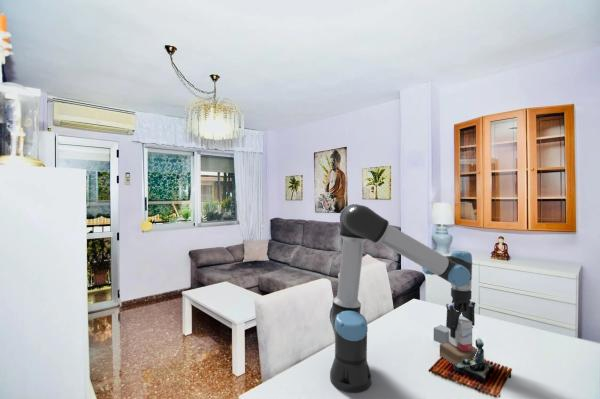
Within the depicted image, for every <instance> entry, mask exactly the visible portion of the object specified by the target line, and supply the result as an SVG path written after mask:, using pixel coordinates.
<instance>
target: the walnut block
mask: <svg viewBox="0 0 600 399" xmlns="http://www.w3.org/2000/svg"><path fill="white" fill-rule="evenodd" d="M477 350H479V349H478V348H476V347H474V346H473V345H472V350H468V351H462V350H460V349H459V348H458V347H456V346H454V345H453V344H451V342H450V343H445V344H441V343H439V357H440V358H442V357H443V358H444V359H443V358H442V359H443V360H445V359H446V360H447V361H446V360H445V361H446V362H448V361H449V362H450V363H449V362H448V363H449V364H451V363H452V364H453V365H452V364H451V365H452V366H454V364H456V363H461V362H462V361H463V360H464V359H471V358H473V357H474V356H475V354H476V352H477Z"/></svg>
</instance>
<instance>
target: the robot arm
mask: <svg viewBox="0 0 600 399" xmlns="http://www.w3.org/2000/svg"><path fill="white" fill-rule="evenodd" d="M339 222H340V228H339V229H340V231H339V236H340V238H341V239H342V245H341V246H342V247H341V256H340V264H339V273H338V274H339V276H338V285H337V292H336V293H337V294H336V296H335V297H334V298H333V299H332V306H331V308H330V309H329V310H330V311H329V321H330V324H331V327H332V331H333V335H334V345H335V346H334V358H333V360H332V361H333V362H332V364H331V365H332V366H331V368H330V370H329V380H330V382H331V384H332V385H333V386H334V387H336V388H337V389H339V390H341V391H343V392H347V393H361V392H364V391H366V390H368V389H369V388H370V387H371V386H372V373H371V370H370V366H369V363H368V328H369V327H368V321H367V319H366V317H365V316H364V315H363V314H361V307H362V303H361V302H360V300H359V291H360V290H359V289H360V282H361V272H362V271H361V270H362V260H363V255H364V254H363V253H364V244H365V242H366V241H369V242H370V241H371V242H372V243H374V244H378V243H380V244H381V245H383V246H385V247H387V248H388V249H390V250H392V251H394V252H395V253H397V254H399V255H401V256H402V257H404V258H406V259H408V260H409V261H412V262H414V263H415V264H416V265H419V266H420V267H421V268H422V272H424V274H425V275H431V276H434V275H436V276H437V277H439V278H441V279H443V280H445V281H446V282H448V283H450V287H451V288H450V296H451V298H452V300H451V303H446V304H445V306H446V320H445V322H446V324H445V326H446V327H447V328H449V329H450V336H451V344H453V345H454V346H456V347H458V330H456V329H457V325H458V320H459V316H460V315H462V316H463V317H465V318H467V319H468V320H470V321H472V329H473V328H474V326H475V320H476V319H475V307H476V302H474V301H471V300H472V280H473V276H472V275H473V255H472V253H471V252H469V251H466V250H453V251H451V255H443V254H441V252H438V251H436V250H435V249H432V248H430V247H429V246H427V245H426V244H424V243H422V242H421V241H418V240H416V239H415V238H414V237H411V235H408V234H406V233H404V232H403V231H401V230H400V229H398V228H396V227H394V226H393V225H391V224H390V221H389V220H387V219H385V218H384V217H382V216H381V215H379V213H378V214H377V213H376V212H375V211H374V210H372V209H371V208H369V207H368V206H366V205H361V204H359V203H358V204H354V203H353V204H349V205H347V206H346V207H344V208H343V209H342V210H341V213H340V215H339ZM453 326H454V327H453Z"/></svg>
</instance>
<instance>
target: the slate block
mask: <svg viewBox="0 0 600 399" xmlns="http://www.w3.org/2000/svg"><path fill="white" fill-rule="evenodd" d="M433 341H434V342H437V343H439V344H445V343H450V342H449V328H447V327H446V325H443V324H439V325H437V326H435V327H433Z"/></svg>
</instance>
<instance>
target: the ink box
mask: <svg viewBox="0 0 600 399" xmlns="http://www.w3.org/2000/svg"><path fill="white" fill-rule="evenodd" d="M453 327H454V326H453ZM472 327H473V326H472V321H470V320H468V319H467V318H465V317H463V316H462V314H461V315H460V316H459V320H458V325H457V329H456V330H458V348H459V349H460V350H462V351H468V350H472V346H473V328H472ZM449 342H451V336H450V329H449Z"/></svg>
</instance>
